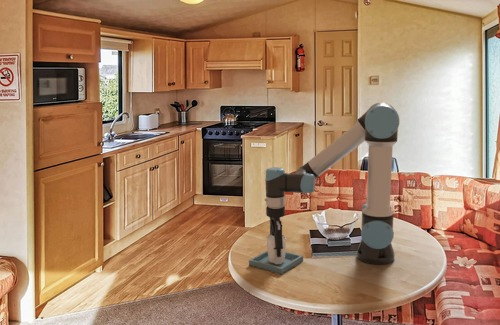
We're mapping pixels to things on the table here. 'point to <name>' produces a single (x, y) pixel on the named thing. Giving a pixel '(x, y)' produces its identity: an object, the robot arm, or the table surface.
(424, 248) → the table surface
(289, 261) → the slate tray
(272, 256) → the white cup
